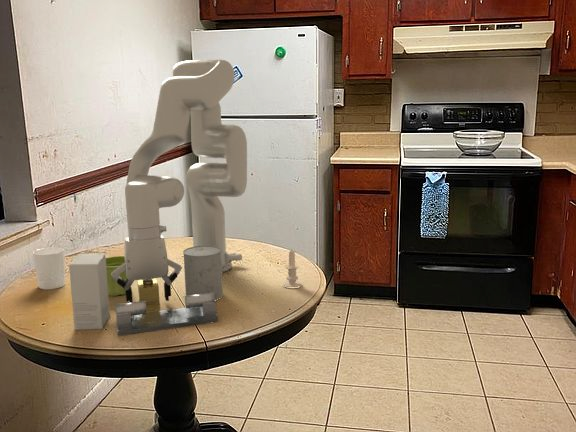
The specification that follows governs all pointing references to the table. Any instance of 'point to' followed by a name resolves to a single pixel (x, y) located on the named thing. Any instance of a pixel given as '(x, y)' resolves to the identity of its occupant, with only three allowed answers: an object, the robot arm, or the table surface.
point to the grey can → (203, 270)
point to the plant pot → (113, 286)
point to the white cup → (49, 267)
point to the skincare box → (89, 291)
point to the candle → (292, 271)
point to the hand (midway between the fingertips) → (149, 301)
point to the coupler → (149, 293)
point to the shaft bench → (165, 315)
